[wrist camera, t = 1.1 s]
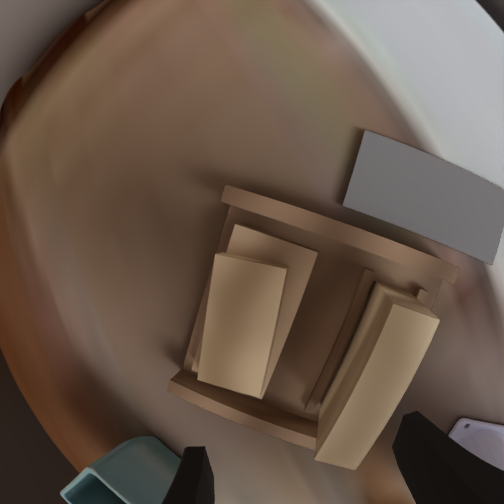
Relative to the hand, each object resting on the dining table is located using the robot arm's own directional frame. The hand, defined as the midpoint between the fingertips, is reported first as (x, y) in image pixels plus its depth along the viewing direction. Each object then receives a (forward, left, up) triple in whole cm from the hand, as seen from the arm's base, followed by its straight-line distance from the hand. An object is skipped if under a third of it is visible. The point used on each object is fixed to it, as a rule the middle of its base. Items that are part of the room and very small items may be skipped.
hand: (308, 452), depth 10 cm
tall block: (-3, -1, -10) cm, 10 cm away
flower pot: (+8, +17, -11) cm, 22 cm away
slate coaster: (-4, -11, -11) cm, 16 cm away
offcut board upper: (+5, 0, -9) cm, 10 cm away
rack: (+1, -1, -11) cm, 11 cm away
